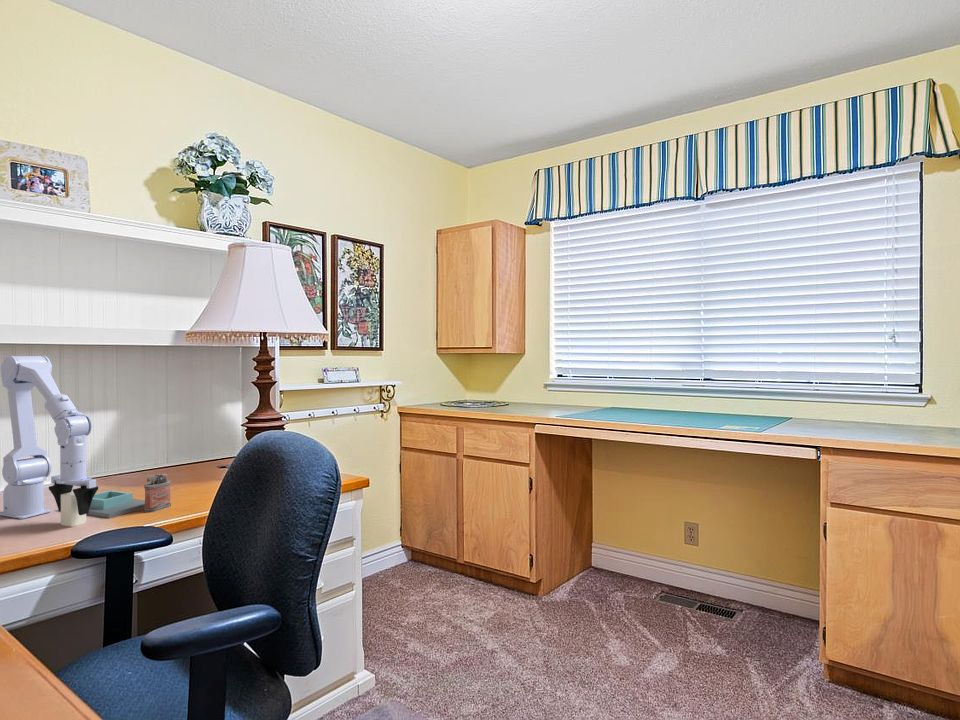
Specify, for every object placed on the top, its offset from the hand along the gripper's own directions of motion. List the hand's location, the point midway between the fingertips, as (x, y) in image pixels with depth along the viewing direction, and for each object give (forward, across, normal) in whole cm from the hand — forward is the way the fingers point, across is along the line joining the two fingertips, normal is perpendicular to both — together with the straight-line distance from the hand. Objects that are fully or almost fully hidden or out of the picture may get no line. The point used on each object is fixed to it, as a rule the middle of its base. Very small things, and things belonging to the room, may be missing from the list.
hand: (73, 512), depth 158 cm
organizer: (+3, -6, +14) cm, 16 cm away
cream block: (+3, 0, 0) cm, 3 cm away
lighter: (+3, +8, +19) cm, 21 cm away
